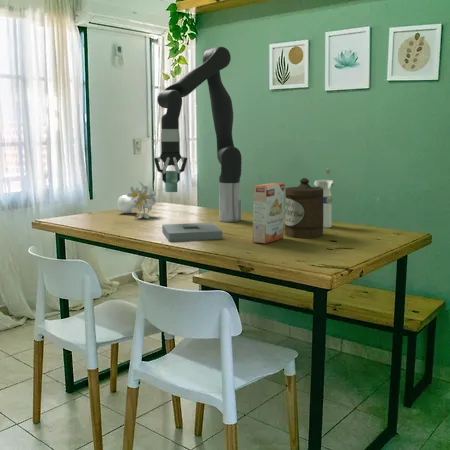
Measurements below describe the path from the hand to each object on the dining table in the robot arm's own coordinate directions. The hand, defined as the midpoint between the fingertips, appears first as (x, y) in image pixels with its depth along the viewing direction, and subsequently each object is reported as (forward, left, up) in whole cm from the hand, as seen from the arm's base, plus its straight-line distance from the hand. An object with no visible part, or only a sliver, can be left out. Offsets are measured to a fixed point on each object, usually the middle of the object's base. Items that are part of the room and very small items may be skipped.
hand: (171, 182), depth 229 cm
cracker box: (-31, +35, -19) cm, 51 cm away
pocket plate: (-5, +18, -19) cm, 27 cm away
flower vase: (+12, -39, -19) cm, 45 cm away
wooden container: (-48, +27, -19) cm, 58 cm away
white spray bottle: (-63, +11, -19) cm, 67 cm away
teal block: (0, 0, -4) cm, 4 cm away
